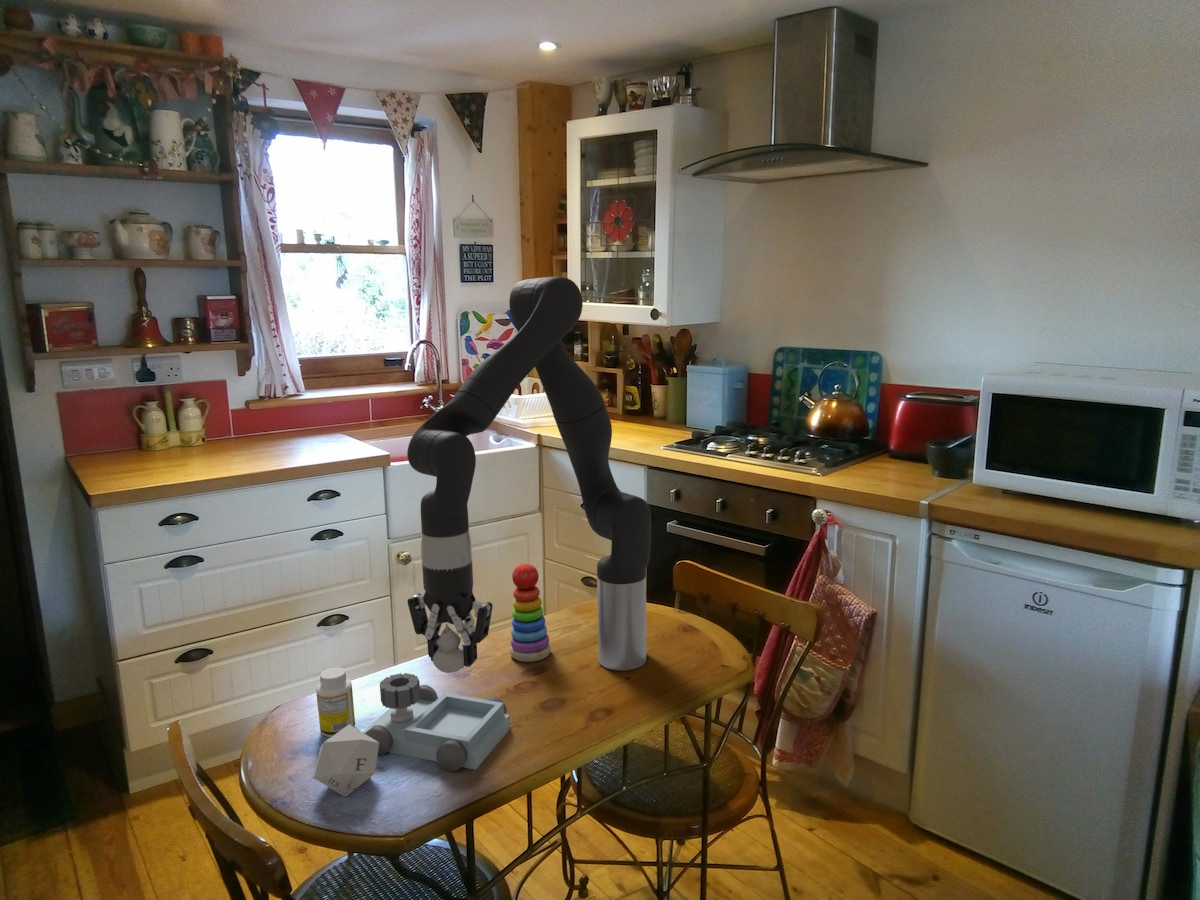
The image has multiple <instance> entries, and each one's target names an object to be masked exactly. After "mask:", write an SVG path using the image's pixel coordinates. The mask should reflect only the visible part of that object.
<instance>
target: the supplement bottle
mask: <svg viewBox="0 0 1200 900" xmlns="http://www.w3.org/2000/svg"><path fill="white" fill-rule="evenodd" d="M315 691H316V694H315V695H316V702H317V711H318V720H319V721H318V723H319V730H320V733H321V734H322V735H323V736H325V737H326V738H331V737H332V736H334V735H335V734H336V733H338V732H339V731H340V730H342V729H343V728H345V727H346V726H347V725H349V724H350V725H351V726H353V727H355V726H356V720H355V719H356V717H355V706H354V695H353V685H352V681H351V679H349V678H347V674H346V670H345V668H343V667H331V668H330V667H329V668H327V669H325V670H323V671H322V672H320V675H319V683H318V685H317V686H316V689H315ZM355 728H356V727H355Z"/></svg>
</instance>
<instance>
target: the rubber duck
mask: <svg viewBox="0 0 1200 900" xmlns="http://www.w3.org/2000/svg"><path fill="white" fill-rule="evenodd" d="M459 634H460V633H458V632H457V630H454V629H452V628H451V627H450V626H449V625H448V624H447V623H445V628H444V629H443V630H442V631H441V634H440V635H441V636H440V638H439V639H438V641H437V644H438V646H439V648H438V649H437V651H436V653H435V654H434V656H433V661H432V664H433V665H434V667H436V669H438V670H439V671H441V672H443V673H446V674H451V673H455V672H458V671H460V670H462V669H464V668H465V666H464V653H463V645H464V642H463V643H461V641H462V640H461V639H462V637H461V635H459Z"/></svg>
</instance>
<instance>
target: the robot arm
mask: <svg viewBox="0 0 1200 900" xmlns="http://www.w3.org/2000/svg"><path fill="white" fill-rule="evenodd" d="M508 302H509V304H508V305H509V312H510V317H511V319H512V322H513V324H514V327H515V328H516V331H517V332H516V333H515V334H514V336H513V337H511V338H510V339H509V340H508V341H507V342H506V343H504V344H503V345H501V347H499V348H498V349H496V350H495V351H494V352H493V353H491V354H490V355H489V356H487V357H486V358H485V359H483V360H482V362H480V363H479V364H478V365H477V366H476V367H475V368H474V369H473V370H472V371H471V372H470V374H469V375H468V376H467V378H466V379H465V380H464V382H463V383H462V384H461V386H460V387H459V389H458V390H457V391H456V392H455V394H454V395H453V397H452V398H451V400H450V401H449V402H447V403H446V404H445V405H443V406H442V407H441V408H439V410H437V411H436V412H435V413H434V414H432V415H431V416H430V417H429V418H428V419H427V420H426V421H424V422H423V423H422V424H421V425H420V426H419V428H417V430H415V432H414V434H413V435H412V436H411V437H410V438H411V439H410V441H409V443H408V445H407V453H406V454H407V460H408V464H409V465H410V466H411V468H412V469H413V470H414V471H416V472H417V473H420V474H423V475H427V476H431V477H436V484H435V489H434V490H432V491H430V492H427V493H426V494H424V495H423V496H422V498H421V501H420V525H421V526H420V527H421V544H420V550H421V553H420V556H421V565H422V566H421V567H422V568H421V569H422V570H421V571H422V582H423V583H422V584H423V590H424V594H422V593H419V592H417V593H416V594H413V595H412V596H410V597H409V598H408V599H407V601H406V602H407V606H408V609H409V613H410V618H411V621H412V625H413V626H412V627H413V630H414V633H415V634H416V635H422V636H424V638H425V639H426V640H427V642H426V643H427V655H428V657H429V658H430V661H431V662H433V656H434V654H435V653H436V651H437V649H438V648H439V646H438V644H437V641H438V639H439V638H440V636H441V634H439V633H440V632H441V628H442V625H443V624H444V623H445V624H447V623H448V624H450V625H454V627H455V631H456V632H457V633H458V634H460V638H461V639H462V641H463V643H464V645H463V653H464V667H467V668H470V667H471V666H472V665H473V664H474V663H475V662H476V661H477V659H478V644H480V643H481V642H482V641H484V639H486V637H488V636H489V630H490V625H491V619H492V612H493V604H492V602H490V601H487V602H485V603H484V602H480V601H478V600H476V597H475V596H474V593H473V588H474V572H473V569H474V568H473V551H472V549H473V548H472V540H471V536H470V535H471V534H470V528H469V527H470V525H469V508H468V503H469V500H470V499H469V498H470V495H471V491H472V486H473V485H472V484H473V480H474V475H475V470H476V465H477V461H476V460H477V458H476V457H477V456H476V451H475V448H474V445H473V443H472V441H471V439H470V438H469V437H468V436H470V435H474V434H479V433H483V432H485V431H486V430H487V429H488V428H489V427H490V426H491V424H492V423H493V422H494V420H495V419H496V417H497V416H498V415H499V413H500V412H501V410H502V409H503V407H505V405H506V403H507V402H508V400H509V399H510V397H511V396H512V394H513V393H514V392H515V391H516V389H517V388H518V387H519V385H520V384H521V383H522V382H523V381H524V379H525V378H526V377H527V376H528V375H529V374H530V373H531V372H532V370H533V369H535V371H536V373H537V376H538V377H539V380H540V383H541V385H542V388H543V390H544V393H545V395H546V399H547V401H548V404H549V405H550V408H551V412H552V414H553V418H554V421H555V424H556V426H557V429H558V432H559V434H560V437H561V440H562V442H563V443H564V446H565V450H566V453H567V454H568V455H567V456H568V458H569V461H570V463H571V466H572V469H573V471H574V475H575V477H576V480H577V484H578V487H579V491H580V496H581V501H582V504H583V507H584V508H583V509H584V512H585V516H586V518H587V522H588V524H589V527H590V528H591V530H592V531H593V532H594V533H595V534H596V535H598V536H599V537H602V538H604V539H607V540H609V541H611V548H610V554H609V555H606V556H603V557H602V558H600V559H599V560H598V561H597V564H596V584H597V585H596V590H597V596H596V597H597V644H598V645H597V649H598V650H597V651H598V653H597V655H598V663H599V665H601V666H602V667H604V668H606V669H609V670H613V671H622V672H623V671H625V672H626V671H632V670H636V669H638V668H639V669H640V668H641V667H642V666H644V665H645V663H646V662H647V578H646V577H647V567H648V564H649V562H650V557H651V547H652V546H651V544H652V542H651V541H652V513H651V508H650V506H649V504H648V502H647V501H646V500H645V499H644V498H642V497H640V496H637V495H634V494H630V493H627V492H624V491H622V490H620V489H619V487H618V486H617V483H616V481H615V478H614V476H613V474H612V470H611V467H610V463H609V462H610V461H609V456H610V455H609V454H610V449H611V442H612V438H613V436H612V435H613V426H612V422H611V418H610V414H609V412H608V409H607V407H606V403H605V400H604V398H603V395H602V394H601V391H600V389H599V388H598V387H597V385H596V384H595V382H594V381H593V380H592V379H591V378H590V376H589V375H588V374H587V373H586V372H585V371H584V370H583V368H581V367H580V365H579V364H578V363H577V362H576V361H575V360H574V358H573V357H572V356H571V354H570V353H569V352H568V350H567V348H566V346H565V344H564V342H563V338H565V336H566V335H568V334H569V332H571V330H572V329H573V328H574V327H575V326H576V324H578V321H579V319H580V317H581V316H582V311H583V295H582V292H581V290H580V288H579V286H578V285H577V284H576V283H575V282H574V281H573V280H572V279H570V278H567V277H564V276H545V277H536V278H535V277H534V278H529V279H524V280H520V281H518V282H516V283H515V284H514V286H513V288H512V289H511V292H510V294H509V301H508ZM426 607H427V609H428V610H429V612H430V615H429V617H428V613H427V610H426ZM472 610H473V611H474V617H475V618H476V623H475V620H474V618H473V615H472V612H471V611H472ZM463 621H464V622H463Z"/></svg>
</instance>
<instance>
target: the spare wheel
mask: <svg viewBox="0 0 1200 900" xmlns="http://www.w3.org/2000/svg"><path fill="white" fill-rule="evenodd" d="M420 686H421V685H420V679H419V677H418V676H417V675H416V674H413V673H407V672H404V673H402V672H400V673H397V674H391V675H389V676H386V677H385V678H384V679H382V680H381V681H380V683H379V693H380V695H379V696H380V702H381V705H382V707H385V708H387V709H390V708H392V709H396V708H397V707H398V708H399V709H401V708H405V707H410V706H411V705H414V704H415V703H416V702H417V701H419V700H420V698H421V697H420Z"/></svg>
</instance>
